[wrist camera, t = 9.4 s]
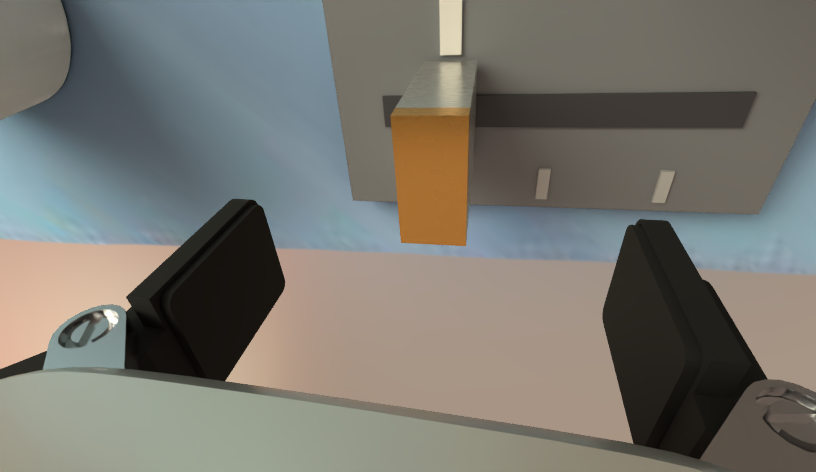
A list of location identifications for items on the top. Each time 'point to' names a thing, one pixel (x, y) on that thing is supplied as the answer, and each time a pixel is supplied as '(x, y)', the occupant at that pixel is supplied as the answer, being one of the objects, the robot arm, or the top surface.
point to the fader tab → (435, 152)
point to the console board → (589, 96)
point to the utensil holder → (31, 53)
